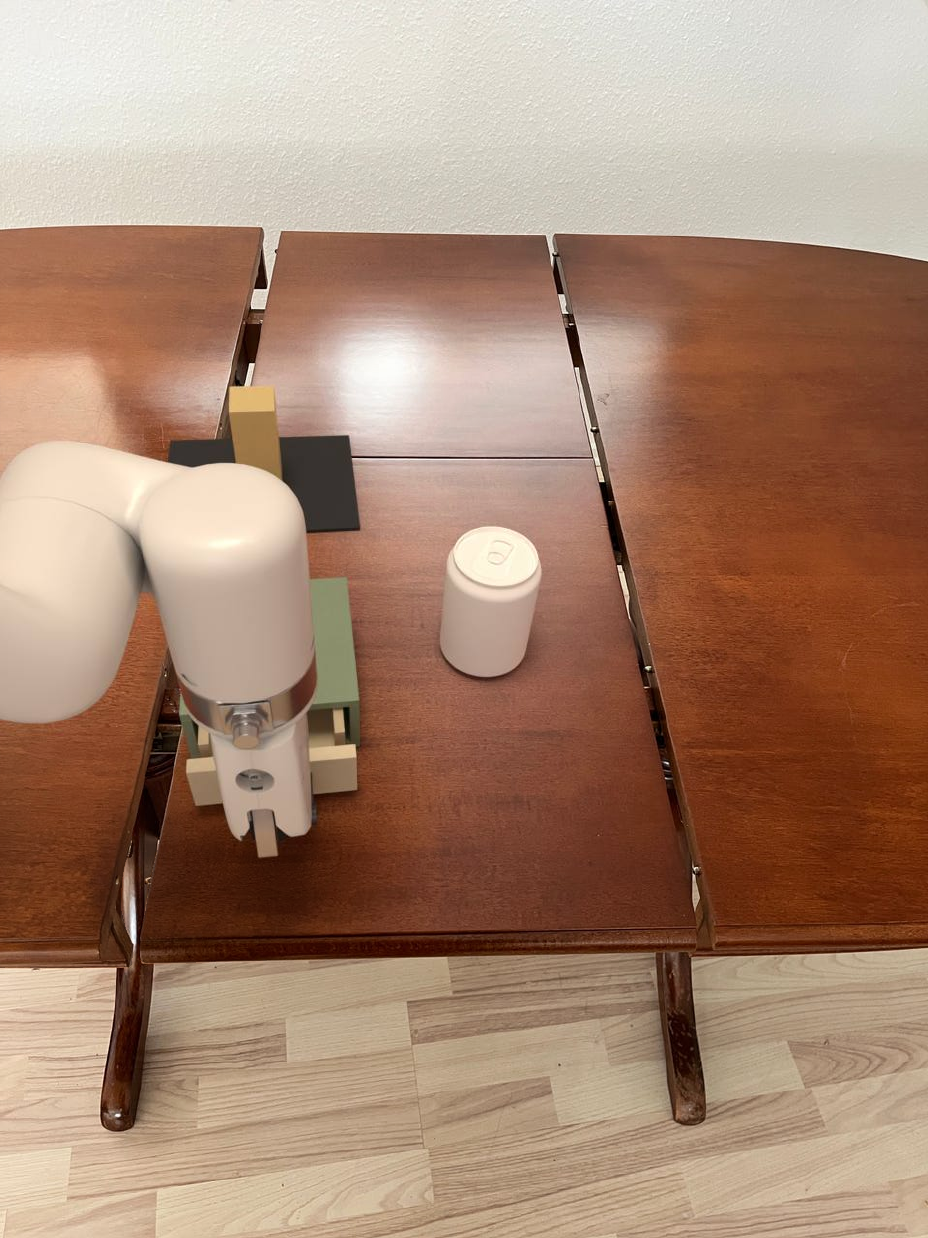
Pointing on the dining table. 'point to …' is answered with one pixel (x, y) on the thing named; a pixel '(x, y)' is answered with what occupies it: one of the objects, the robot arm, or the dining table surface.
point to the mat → (296, 475)
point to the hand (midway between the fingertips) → (276, 829)
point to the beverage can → (489, 601)
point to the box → (255, 427)
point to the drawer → (327, 761)
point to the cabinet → (321, 661)
